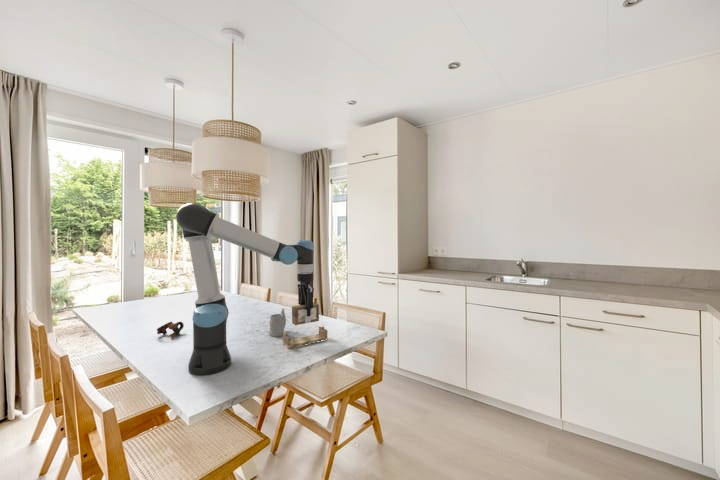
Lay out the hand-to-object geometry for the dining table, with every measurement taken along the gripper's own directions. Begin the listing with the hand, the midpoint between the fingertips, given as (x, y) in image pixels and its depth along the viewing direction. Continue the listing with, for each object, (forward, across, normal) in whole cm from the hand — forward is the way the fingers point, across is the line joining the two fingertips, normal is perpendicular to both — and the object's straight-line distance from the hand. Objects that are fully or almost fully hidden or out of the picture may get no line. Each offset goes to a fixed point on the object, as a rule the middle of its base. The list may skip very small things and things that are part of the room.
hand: (305, 321), depth 148 cm
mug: (+10, +20, +6) cm, 23 cm away
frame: (0, 0, 0) cm, 0 cm away
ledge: (+10, 0, 0) cm, 10 cm away
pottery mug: (+10, +47, +53) cm, 71 cm away
